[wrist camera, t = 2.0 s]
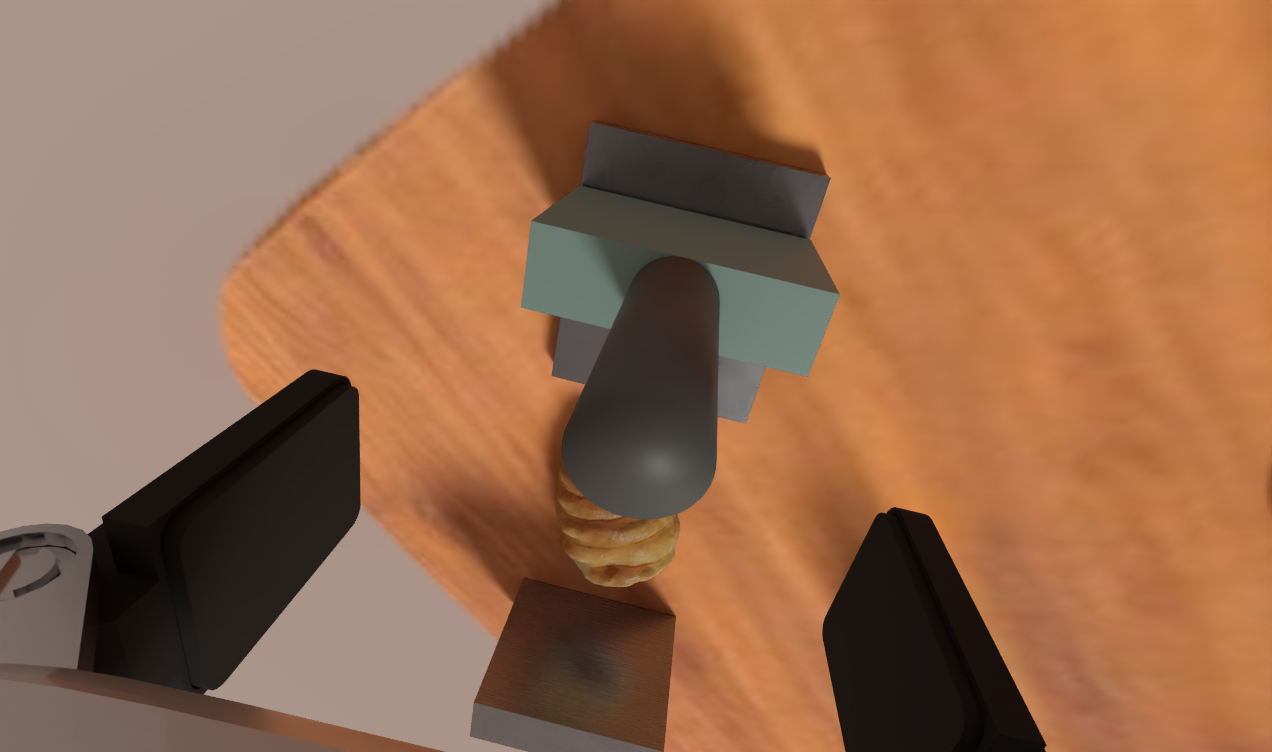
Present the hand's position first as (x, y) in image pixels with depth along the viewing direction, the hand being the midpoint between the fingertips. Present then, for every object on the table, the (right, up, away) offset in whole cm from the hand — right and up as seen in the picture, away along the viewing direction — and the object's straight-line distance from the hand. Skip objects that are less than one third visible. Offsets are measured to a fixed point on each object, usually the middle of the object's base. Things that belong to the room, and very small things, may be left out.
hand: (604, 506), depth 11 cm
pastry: (-1, -4, +24) cm, 24 cm away
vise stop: (-2, -13, +28) cm, 31 cm away
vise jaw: (+3, +8, +15) cm, 17 cm away
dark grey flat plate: (+3, +7, +17) cm, 19 cm away
